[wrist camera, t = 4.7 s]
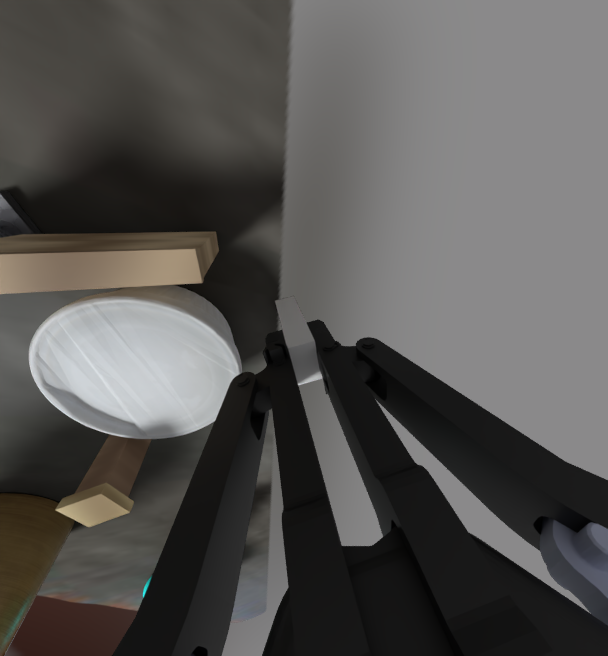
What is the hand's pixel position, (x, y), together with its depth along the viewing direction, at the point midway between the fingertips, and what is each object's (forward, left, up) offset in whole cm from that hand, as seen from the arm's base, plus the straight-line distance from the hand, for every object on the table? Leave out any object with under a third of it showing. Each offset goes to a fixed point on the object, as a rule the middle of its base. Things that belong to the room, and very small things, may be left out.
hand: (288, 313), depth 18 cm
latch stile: (-15, -5, -1) cm, 15 cm away
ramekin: (-10, +1, -2) cm, 10 cm away
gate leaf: (-8, +8, -1) cm, 11 cm away
